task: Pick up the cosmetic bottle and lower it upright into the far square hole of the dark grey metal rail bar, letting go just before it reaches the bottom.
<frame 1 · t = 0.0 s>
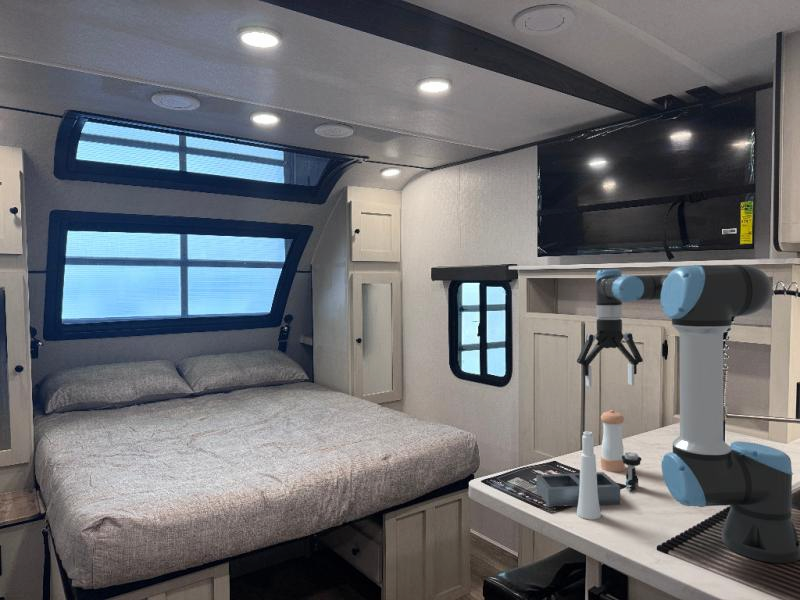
hand: (609, 385, 172), 28 cm above the counter, tool pointing down, fingers open, 13 cm apart
square-hole rail: (577, 497, 154), on the counter
pepper shaker: (612, 468, 177), on the counter
push button: (631, 489, 160), on the counter
cosmetic bottle: (588, 515, 143), on the counter
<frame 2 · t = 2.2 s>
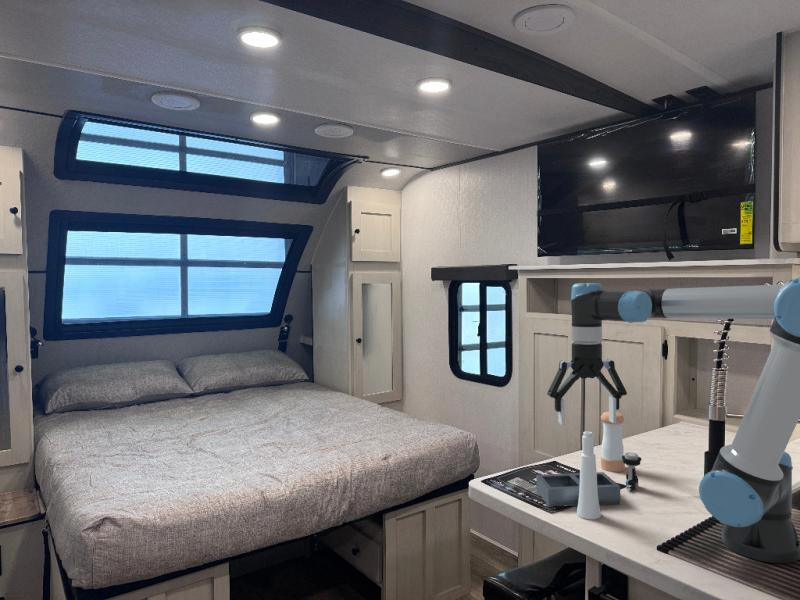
hand: (587, 423, 142), 24 cm above the counter, tool pointing down, fingers open, 13 cm apart
nothing on the counter moved.
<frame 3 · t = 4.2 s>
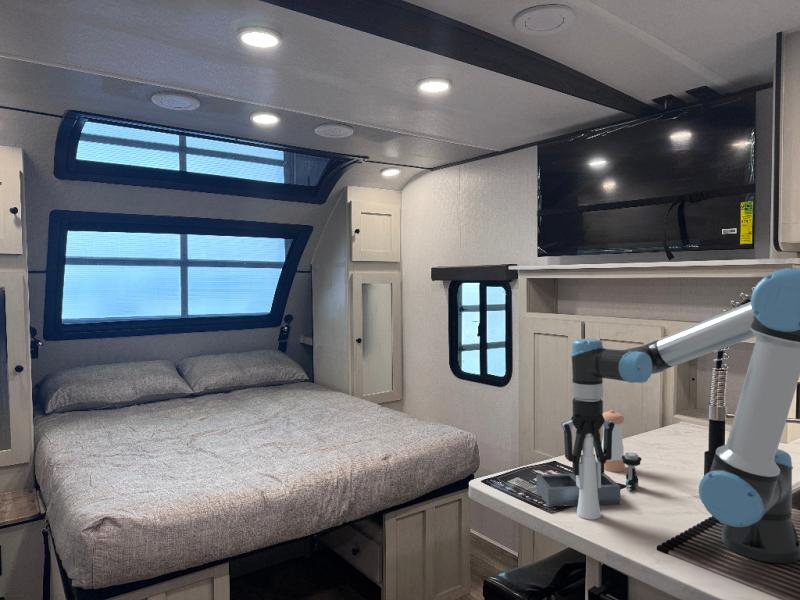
hand: (588, 486, 143), 8 cm above the counter, tool pointing down, fingers closed on cosmetic bottle, 4 cm apart
cosmetic bottle: (588, 515, 143), on the counter, touching gripper
everything else where it was.
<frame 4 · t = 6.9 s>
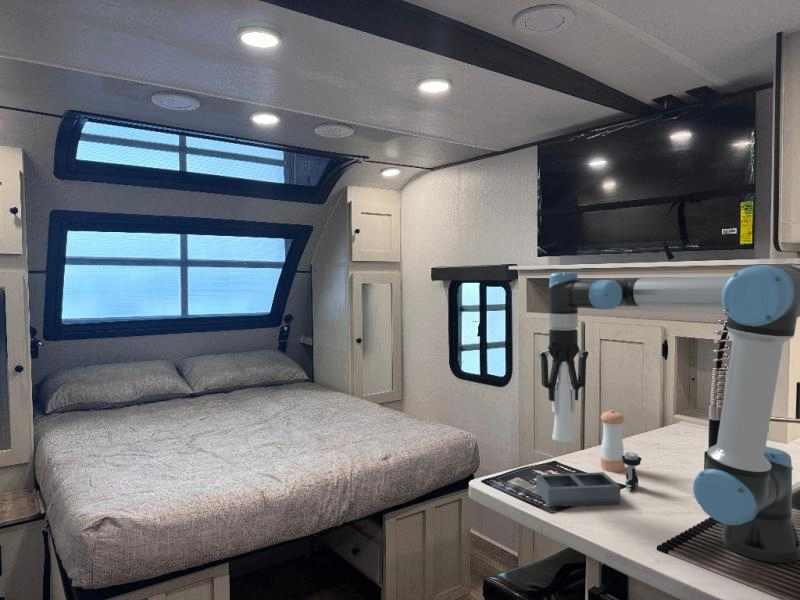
hand: (563, 411, 151), 25 cm above the counter, tool pointing down, fingers closed on cosmetic bottle, 4 cm apart
cosmetic bottle: (563, 439, 151), point 17 cm above the counter, touching gripper
everything else where it was.
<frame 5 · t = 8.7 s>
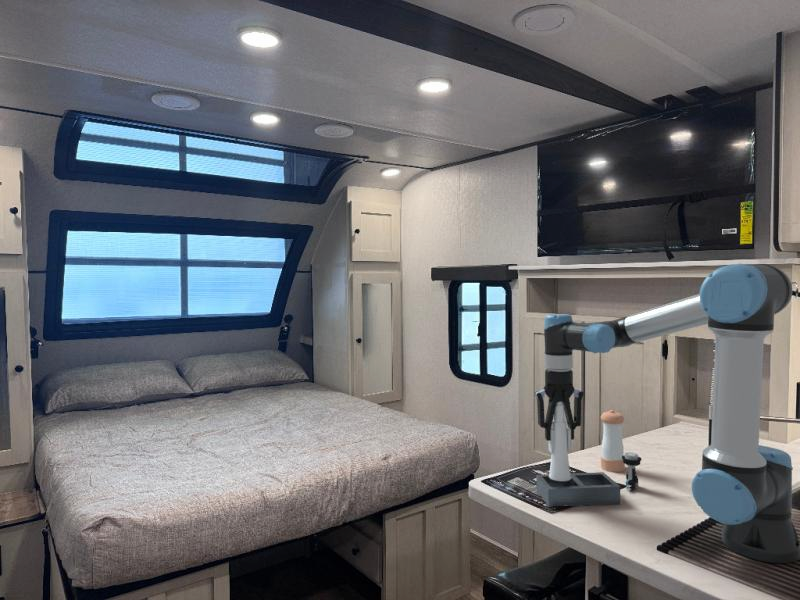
hand: (559, 451, 153), 14 cm above the counter, tool pointing down, fingers closed on cosmetic bottle, 4 cm apart
cosmetic bottle: (559, 478, 154), point 6 cm above the counter, touching gripper
everything else where it was.
when the fingers open (9 cm above the counter, at t = 9.8 s): cosmetic bottle drops 1 cm, resting in square-hole rail.
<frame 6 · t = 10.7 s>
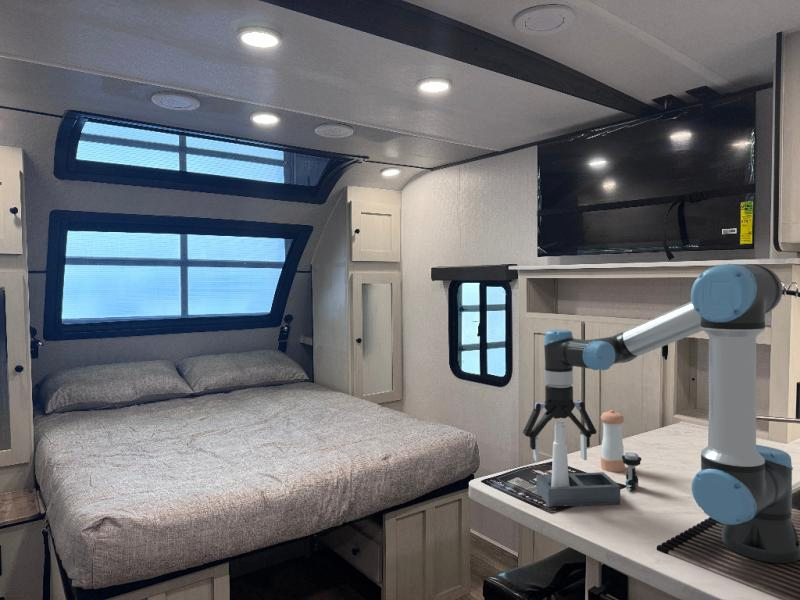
hand: (559, 459, 153), 11 cm above the counter, tool pointing down, fingers open, 13 cm apart
cosmetic bottle: (560, 499, 154), resting in square-hole rail
everything else where it was.
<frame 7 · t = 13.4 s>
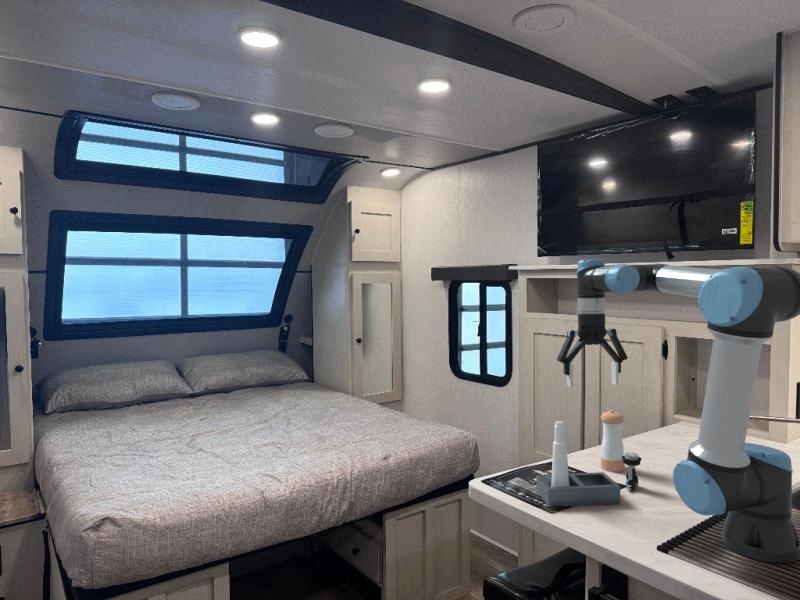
hand: (592, 385, 158), 31 cm above the counter, tool pointing down, fingers open, 13 cm apart
nothing on the counter moved.
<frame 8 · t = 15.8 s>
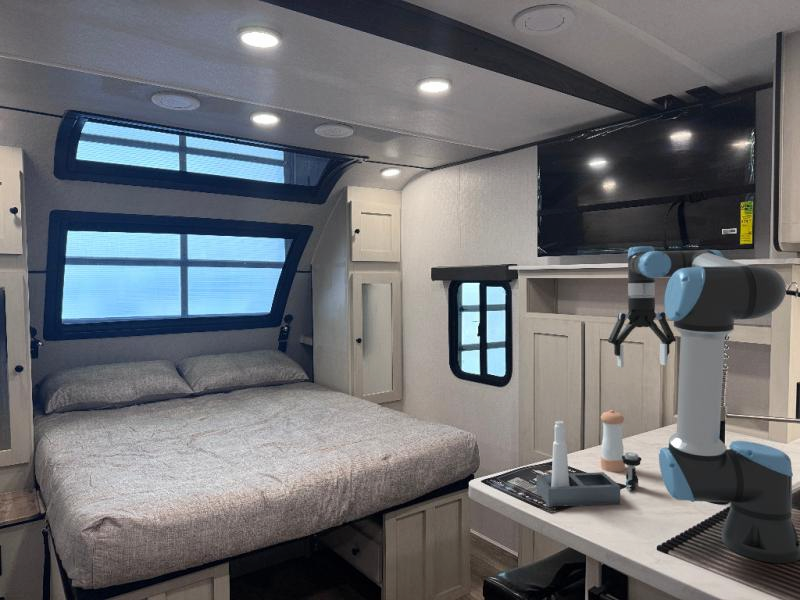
hand: (641, 365, 168), 35 cm above the counter, tool pointing down, fingers open, 13 cm apart
nothing on the counter moved.
at the end: cosmetic bottle 0.1 cm from the target spot on the square-hole rail, point 0.0 cm above the square-hole rail's base; cosmetic bottle tilted 0°; the gripper is holding nothing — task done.
